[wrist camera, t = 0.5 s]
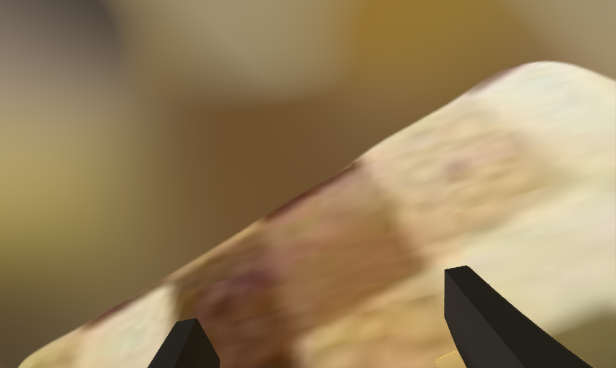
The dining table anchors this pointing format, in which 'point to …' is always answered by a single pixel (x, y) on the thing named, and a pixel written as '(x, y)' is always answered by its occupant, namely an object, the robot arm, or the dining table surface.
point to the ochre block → (450, 361)
